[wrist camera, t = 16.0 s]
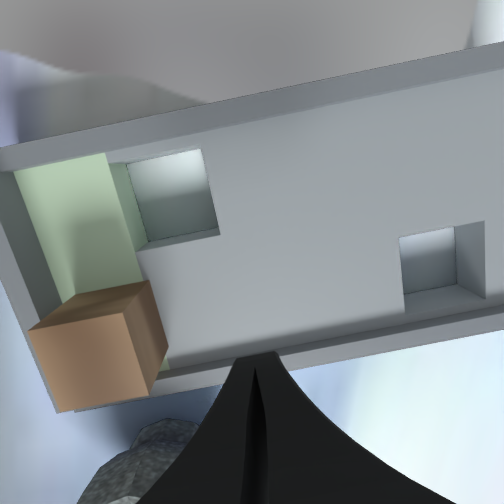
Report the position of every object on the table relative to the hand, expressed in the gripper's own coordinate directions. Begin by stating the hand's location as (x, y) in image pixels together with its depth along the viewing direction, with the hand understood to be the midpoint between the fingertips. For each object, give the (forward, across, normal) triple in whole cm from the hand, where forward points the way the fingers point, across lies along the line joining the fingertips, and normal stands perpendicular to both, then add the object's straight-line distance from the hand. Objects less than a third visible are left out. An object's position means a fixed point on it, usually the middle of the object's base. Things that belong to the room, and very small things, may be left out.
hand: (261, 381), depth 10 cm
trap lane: (+10, -2, -2) cm, 10 cm away
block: (+7, +7, 0) cm, 10 cm away
